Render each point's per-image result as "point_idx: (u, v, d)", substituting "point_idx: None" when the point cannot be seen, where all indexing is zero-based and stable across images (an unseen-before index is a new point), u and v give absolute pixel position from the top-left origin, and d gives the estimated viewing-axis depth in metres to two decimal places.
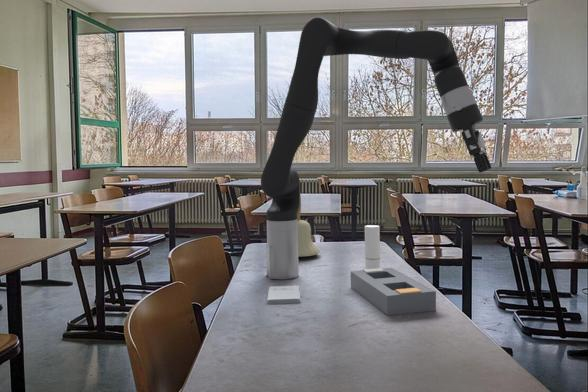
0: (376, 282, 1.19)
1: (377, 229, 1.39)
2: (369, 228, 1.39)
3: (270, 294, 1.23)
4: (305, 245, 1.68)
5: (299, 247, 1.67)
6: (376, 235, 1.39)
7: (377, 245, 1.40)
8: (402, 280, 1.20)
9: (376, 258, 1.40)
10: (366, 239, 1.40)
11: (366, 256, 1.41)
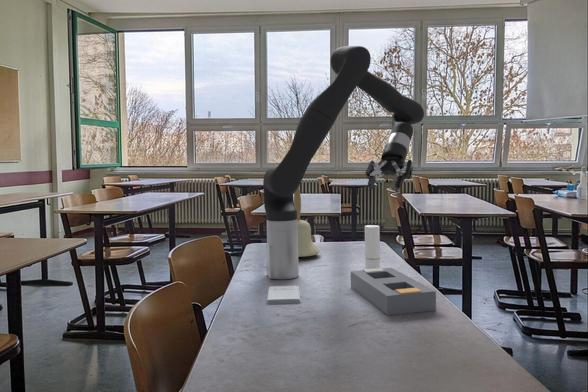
0: (376, 282, 1.19)
1: (377, 229, 1.39)
2: (369, 228, 1.39)
3: (270, 294, 1.23)
4: (305, 245, 1.68)
5: (299, 247, 1.67)
6: (376, 235, 1.39)
7: (377, 245, 1.40)
8: (402, 280, 1.20)
9: (376, 258, 1.40)
10: (366, 239, 1.40)
11: (366, 256, 1.41)
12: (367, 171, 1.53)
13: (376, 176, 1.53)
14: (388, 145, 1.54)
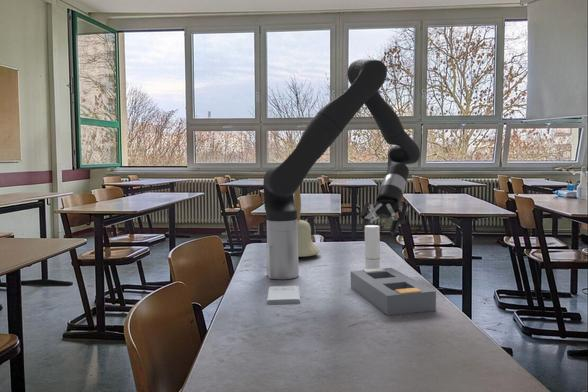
0: (376, 282, 1.19)
1: (377, 229, 1.39)
2: (369, 228, 1.39)
3: (270, 294, 1.23)
4: (305, 245, 1.68)
5: (299, 247, 1.67)
6: (376, 235, 1.39)
7: (377, 245, 1.40)
8: (402, 280, 1.20)
9: (376, 258, 1.40)
10: (366, 239, 1.40)
11: (366, 256, 1.41)
12: (362, 214, 1.51)
13: (371, 219, 1.51)
14: (383, 187, 1.51)
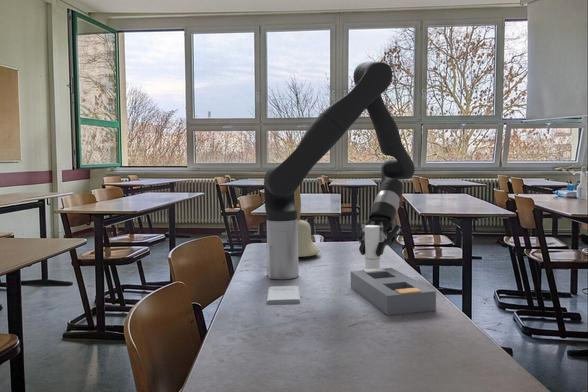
0: (376, 282, 1.19)
1: (377, 229, 1.39)
2: (369, 228, 1.39)
3: (270, 294, 1.23)
4: (305, 245, 1.68)
5: (299, 247, 1.67)
6: (376, 235, 1.39)
7: (377, 245, 1.40)
8: (402, 280, 1.20)
9: (376, 258, 1.40)
10: (366, 239, 1.40)
11: (366, 256, 1.41)
12: (359, 235, 1.45)
13: None
14: (376, 204, 1.47)
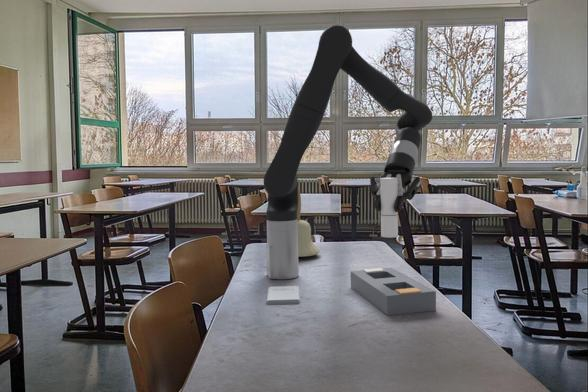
0: (376, 282, 1.19)
1: (395, 181, 1.22)
2: (386, 179, 1.21)
3: (270, 294, 1.23)
4: (305, 245, 1.68)
5: (299, 247, 1.67)
6: (394, 188, 1.21)
7: (395, 199, 1.22)
8: (402, 280, 1.20)
9: (394, 214, 1.22)
10: (382, 193, 1.22)
11: (382, 212, 1.23)
12: (373, 189, 1.27)
13: None
14: (392, 155, 1.29)
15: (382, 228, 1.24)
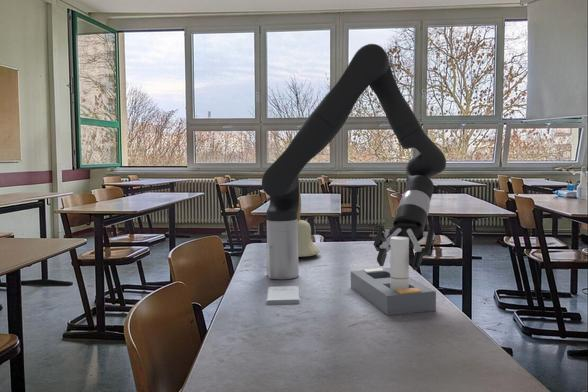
0: (376, 282, 1.19)
1: (406, 242, 1.13)
2: (397, 240, 1.13)
3: (269, 294, 1.23)
4: (305, 245, 1.68)
5: (299, 247, 1.67)
6: (405, 250, 1.13)
7: (406, 262, 1.13)
8: None
9: (404, 278, 1.13)
10: (392, 254, 1.14)
11: (392, 275, 1.14)
12: (376, 241, 1.19)
13: (387, 248, 1.19)
14: (403, 207, 1.20)
15: None
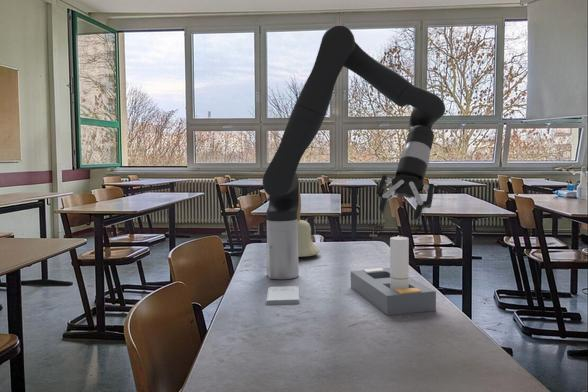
0: (376, 282, 1.19)
1: (406, 242, 1.13)
2: (396, 240, 1.12)
3: (269, 295, 1.23)
4: (305, 245, 1.68)
5: (299, 247, 1.67)
6: (405, 250, 1.13)
7: (406, 262, 1.13)
8: None
9: (404, 278, 1.13)
10: (392, 254, 1.14)
11: (392, 275, 1.14)
12: (379, 190, 1.28)
13: (388, 196, 1.28)
14: (406, 160, 1.27)
15: None
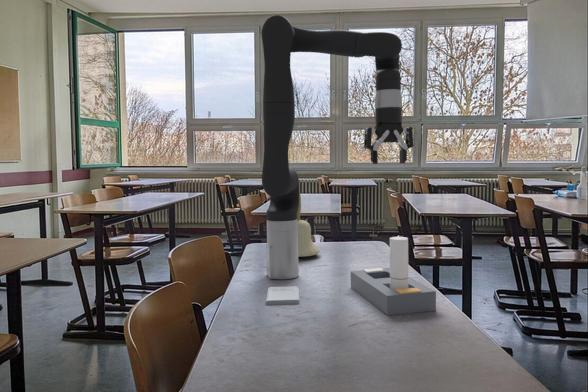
0: (376, 282, 1.19)
1: (405, 242, 1.13)
2: (396, 240, 1.12)
3: (269, 295, 1.23)
4: (305, 245, 1.68)
5: (299, 247, 1.67)
6: (404, 250, 1.13)
7: (405, 262, 1.13)
8: None
9: (404, 278, 1.13)
10: (392, 254, 1.14)
11: (392, 275, 1.14)
12: (369, 144, 1.36)
13: None
14: (389, 111, 1.34)
15: None
